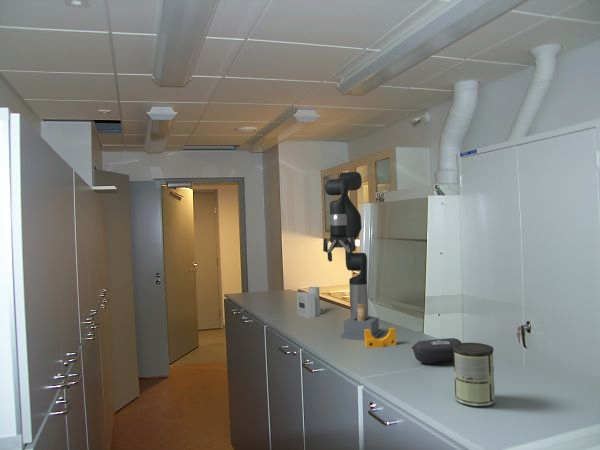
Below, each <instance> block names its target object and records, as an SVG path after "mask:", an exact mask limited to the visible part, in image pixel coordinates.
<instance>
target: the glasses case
mask: <svg viewBox="0 0 600 450" xmlns="http://www.w3.org/2000/svg"><path fill="white" fill-rule="evenodd" d="M459 343H462V341H460V339H459V338H456V337H455V338H454V337H449V338H436V339H425V340H420V341H417V342H416V343H415V344H413V345H412V347H411V349H412V350H413V354H414V357H415V359H416V360H417V361H418V362H419V363H423V364H428V365H429V364H431V365H444V364H449V363H454V352H453V346H454V345H456V344H459Z"/></svg>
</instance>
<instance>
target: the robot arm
mask: <svg viewBox="0 0 600 450" xmlns="http://www.w3.org/2000/svg"><path fill="white" fill-rule="evenodd" d="M362 183H363V180H362V175H361V173H359V172H358V171H349V172H348V171H347V172H341V173H339V176H338V178H333V179H328V180H327V181H326V182H325V183H324V191H325V193H326V194H327V195H329V196H339V198H338V199H335V200H332V201H331V202H330V203H329V236H330V237H329V238H328V237H324V238H323V239H322V240H323V241H322V242H323V243H322V247H323V248H322V251H323V252H325V253H327V260H328V262H330V263H331V262H332V261H333V253H332V251H333V250H334V249H335V248H336V249H338V248H339V249H340V248H341V249H342V248H343V249H344V250H345V267H346V270H348V271H353V272H355V271H358V272H359V271H360V272H359V273H358V274H357V275H355V276H353V277H350V278H349V279H348V280H349V281H348V283H349V284H348V285H349V307H350V308H349V309H350V313H349V314H350V315H349V316H350V317H352V316H357V304H366V317H369V295H368V292H369V291H368V290H369V289H368V256H367V254H366V253H365V252H355V251H356V240H357V238H358V236H359V235H360V232H361V230H362V215H361V213H360V212H359V209H357V208H356V206H355V205H354V204H353V202H352V201H351V199H350V197H349V192H350V191H357V190H360V189H361V187H362ZM329 242H330V243H331V244H330V246H329V245H328V244H329ZM328 246H329V247H328Z"/></svg>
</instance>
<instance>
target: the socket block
mask: <svg viewBox="0 0 600 450" xmlns="http://www.w3.org/2000/svg"><path fill="white" fill-rule="evenodd" d="M379 320H380V318H379V317H378V316H368V317H366V321H357V316H352V317H351V316H349V318H347V319H345V320H344V321H343V333H342V334H340V339H345V340H360V341H365V336H364V329H369V330H371V334H372V336H373V337H374V338H377V339H378V338H379V336H380V335H381V334H382V333H383V329H382V328H380V326H379V325H380V322H379Z"/></svg>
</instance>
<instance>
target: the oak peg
mask: <svg viewBox="0 0 600 450" xmlns="http://www.w3.org/2000/svg"><path fill="white" fill-rule="evenodd" d="M357 321H366V304H357Z"/></svg>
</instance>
